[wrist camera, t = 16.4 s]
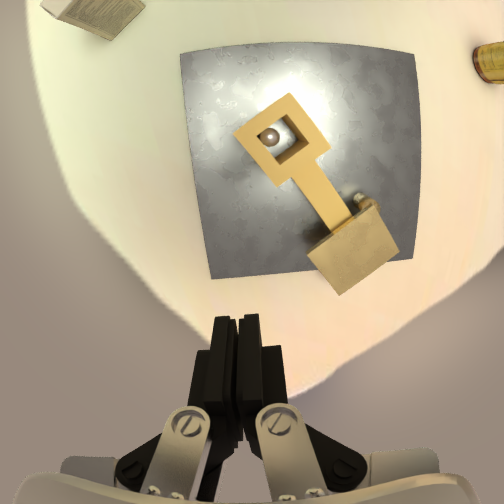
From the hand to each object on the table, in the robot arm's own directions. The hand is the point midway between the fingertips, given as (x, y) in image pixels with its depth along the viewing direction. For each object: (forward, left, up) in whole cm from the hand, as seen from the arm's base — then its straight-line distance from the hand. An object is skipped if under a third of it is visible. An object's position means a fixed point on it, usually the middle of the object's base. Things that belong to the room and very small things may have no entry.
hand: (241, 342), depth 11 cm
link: (-1, +7, -23) cm, 25 cm away
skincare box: (-26, -13, -24) cm, 38 cm away
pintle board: (-3, +8, -24) cm, 25 cm away
